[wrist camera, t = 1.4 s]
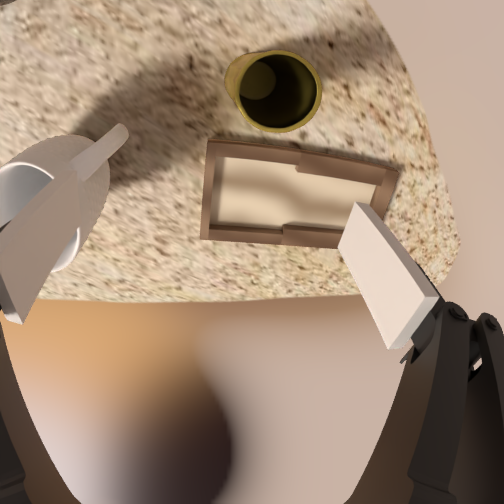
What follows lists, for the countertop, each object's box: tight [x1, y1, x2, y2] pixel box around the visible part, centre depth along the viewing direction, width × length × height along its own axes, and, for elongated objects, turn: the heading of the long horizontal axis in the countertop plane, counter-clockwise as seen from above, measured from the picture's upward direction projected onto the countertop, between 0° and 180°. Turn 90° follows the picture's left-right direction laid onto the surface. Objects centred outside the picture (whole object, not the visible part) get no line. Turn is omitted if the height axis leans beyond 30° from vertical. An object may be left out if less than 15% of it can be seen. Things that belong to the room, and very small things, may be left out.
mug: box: [0, 123, 129, 272], centre depth 24 cm, size 15×11×13 cm
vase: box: [225, 50, 322, 133], centre depth 21 cm, size 6×6×14 cm
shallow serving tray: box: [200, 139, 399, 249], centre depth 35 cm, size 12×23×2 cm, turn 82°
